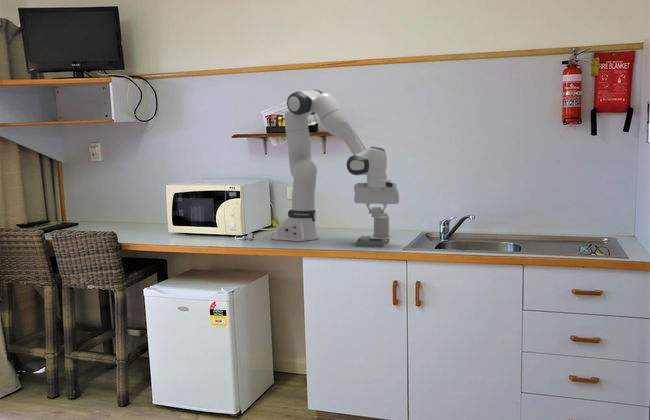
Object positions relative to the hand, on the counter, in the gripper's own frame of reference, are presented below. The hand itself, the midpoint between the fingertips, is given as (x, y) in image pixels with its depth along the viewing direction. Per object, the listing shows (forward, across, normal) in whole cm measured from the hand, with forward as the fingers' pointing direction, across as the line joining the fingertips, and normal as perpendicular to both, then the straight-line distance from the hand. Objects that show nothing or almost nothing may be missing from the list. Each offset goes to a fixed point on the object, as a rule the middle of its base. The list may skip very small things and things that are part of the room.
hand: (376, 213), depth 281 cm
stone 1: (+14, -5, 0) cm, 15 cm away
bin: (+15, -2, 0) cm, 15 cm away
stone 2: (+1, 0, 0) cm, 1 cm away
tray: (+15, -2, +11) cm, 19 cm away
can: (+15, 0, +26) cm, 30 cm away
